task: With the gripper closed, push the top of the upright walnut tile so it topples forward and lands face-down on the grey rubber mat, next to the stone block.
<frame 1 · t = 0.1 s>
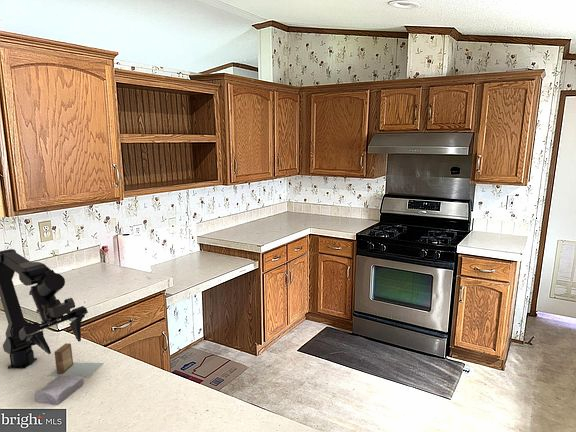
hand: (65, 347, 125), 15 cm above the countertop, tool tilted 35°, fingers open, 9 cm apart
stone block: (58, 394, 127), on the countertop
rubber mat: (76, 370, 139), on the countertop
walnut tile: (65, 369, 140), resting on rubber mat
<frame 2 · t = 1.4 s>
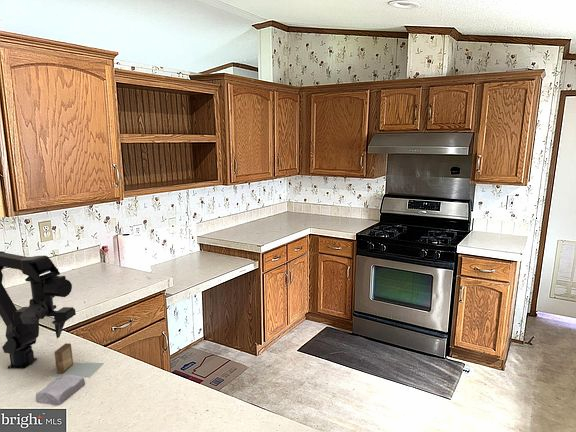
hand: (47, 337, 138), 12 cm above the countertop, tool pointing down, fingers open, 7 cm apart
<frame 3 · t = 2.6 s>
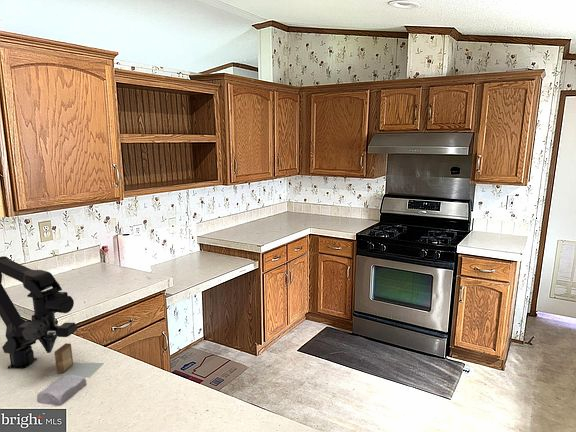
hand: (49, 352, 139), 6 cm above the countertop, tool pointing down, fingers closed
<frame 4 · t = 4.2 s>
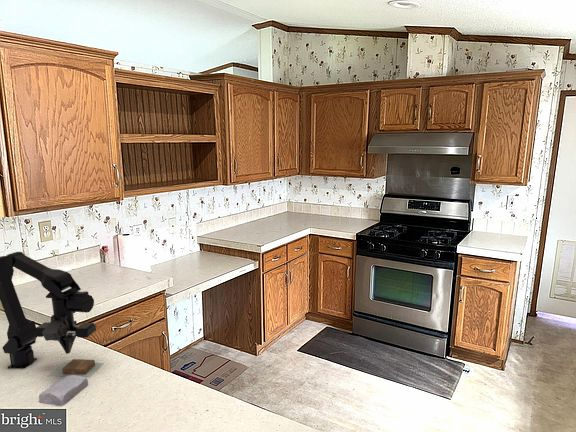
hand: (68, 353, 139), 6 cm above the countertop, tool pointing down, fingers closed
walnut tile: (67, 366, 139), point 1 cm above the countertop, tilted 90°, touching rubber mat
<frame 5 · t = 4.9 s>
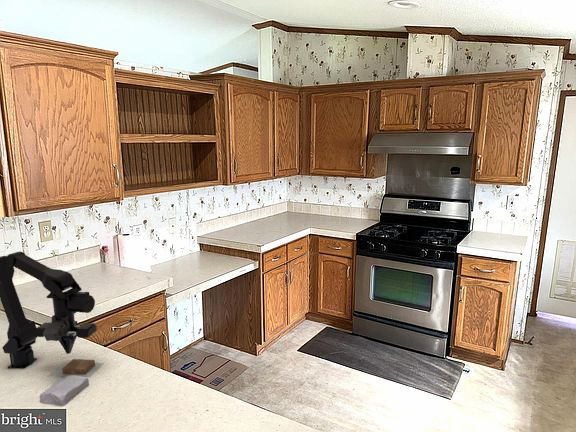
hand: (68, 353, 139), 6 cm above the countertop, tool pointing down, fingers closed
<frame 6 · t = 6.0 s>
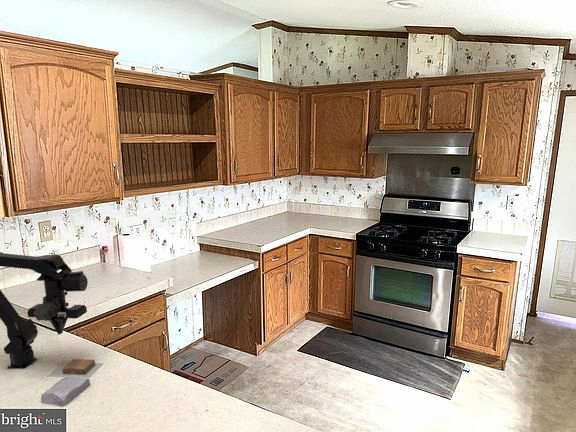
hand: (60, 333, 143), 11 cm above the countertop, tool pointing down, fingers closed
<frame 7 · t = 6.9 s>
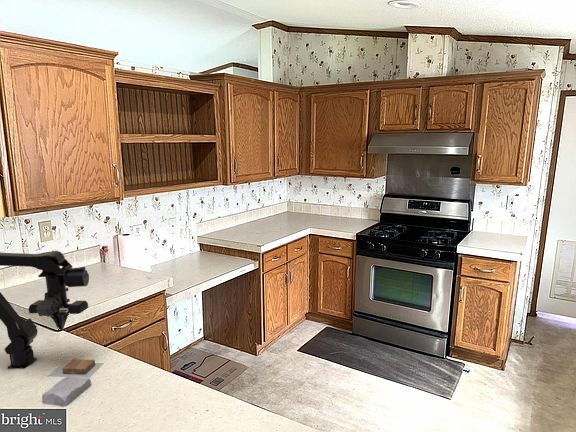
hand: (61, 329, 144), 12 cm above the countertop, tool pointing down, fingers closed
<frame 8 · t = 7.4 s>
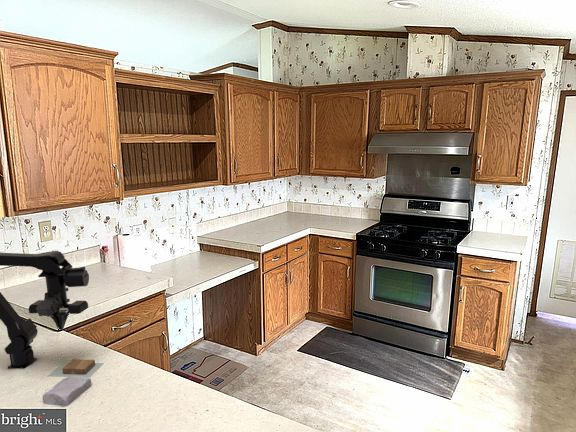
hand: (61, 329, 144), 12 cm above the countertop, tool pointing down, fingers closed
at the end: walnut tile tilted 90°; walnut tile inside the target area (5.9 cm from its centre), point 1.4 cm above the countertop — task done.
